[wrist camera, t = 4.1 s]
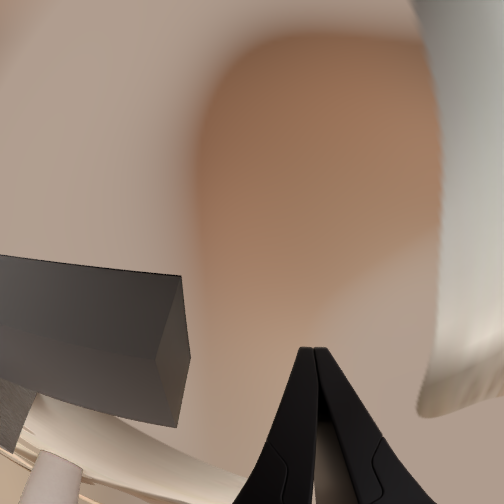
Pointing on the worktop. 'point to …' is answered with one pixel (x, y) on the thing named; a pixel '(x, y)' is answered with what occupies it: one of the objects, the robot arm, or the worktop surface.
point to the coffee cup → (52, 481)
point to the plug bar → (95, 337)
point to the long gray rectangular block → (13, 412)
